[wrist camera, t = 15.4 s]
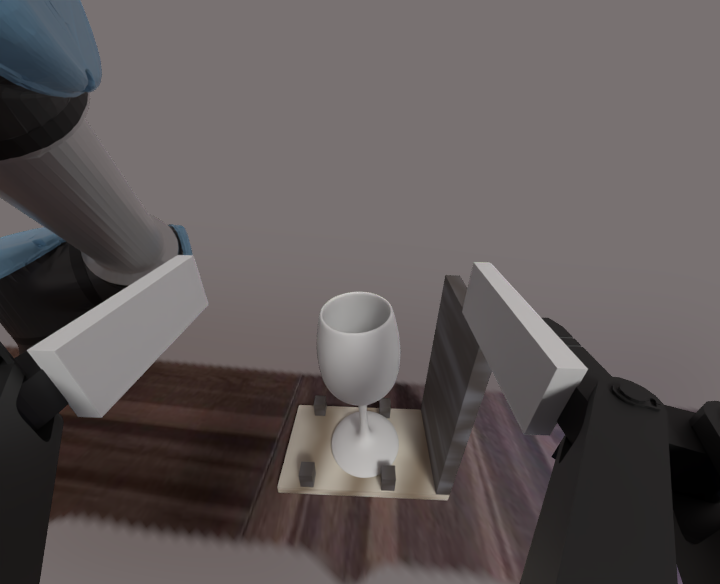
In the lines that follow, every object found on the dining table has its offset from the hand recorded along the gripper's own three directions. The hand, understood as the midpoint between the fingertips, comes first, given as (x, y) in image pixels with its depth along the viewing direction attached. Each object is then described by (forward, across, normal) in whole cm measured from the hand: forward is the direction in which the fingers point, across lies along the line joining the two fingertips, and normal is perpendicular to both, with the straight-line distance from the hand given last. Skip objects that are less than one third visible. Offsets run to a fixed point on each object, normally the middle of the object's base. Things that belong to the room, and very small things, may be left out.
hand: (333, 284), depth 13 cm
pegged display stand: (+10, +2, -30) cm, 32 cm away
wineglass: (+10, +2, -29) cm, 30 cm away
